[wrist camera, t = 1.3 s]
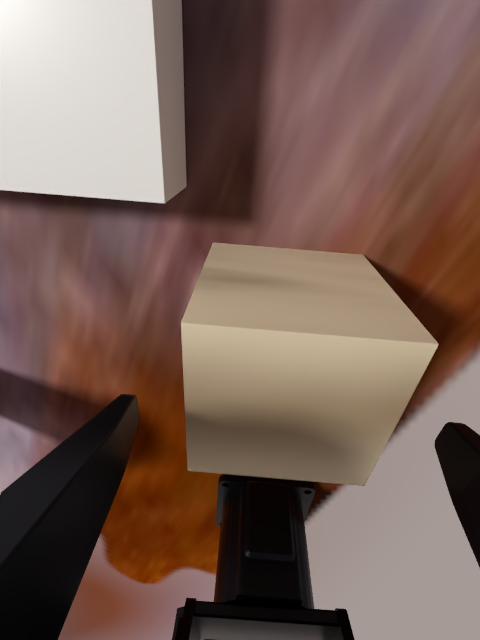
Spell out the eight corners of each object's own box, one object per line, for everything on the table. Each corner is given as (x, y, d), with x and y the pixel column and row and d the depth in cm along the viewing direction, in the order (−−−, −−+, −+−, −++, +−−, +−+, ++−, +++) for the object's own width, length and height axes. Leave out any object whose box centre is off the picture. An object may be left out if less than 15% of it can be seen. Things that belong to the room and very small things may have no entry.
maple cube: (328, 367, 15) (364, 485, 10) (211, 357, 15) (187, 470, 10) (362, 254, 12) (438, 344, 7) (213, 242, 12) (180, 322, 7)
